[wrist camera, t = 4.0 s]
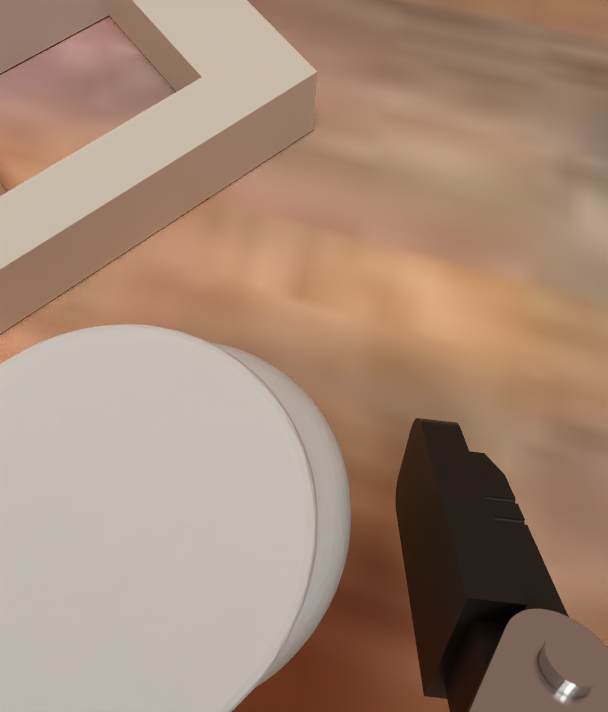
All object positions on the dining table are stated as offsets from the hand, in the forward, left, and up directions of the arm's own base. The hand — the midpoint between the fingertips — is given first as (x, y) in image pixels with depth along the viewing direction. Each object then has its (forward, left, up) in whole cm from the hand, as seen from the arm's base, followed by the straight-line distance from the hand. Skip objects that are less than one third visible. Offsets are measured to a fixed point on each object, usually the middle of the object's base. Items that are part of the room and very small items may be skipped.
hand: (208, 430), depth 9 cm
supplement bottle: (+1, +1, -5) cm, 6 cm away
